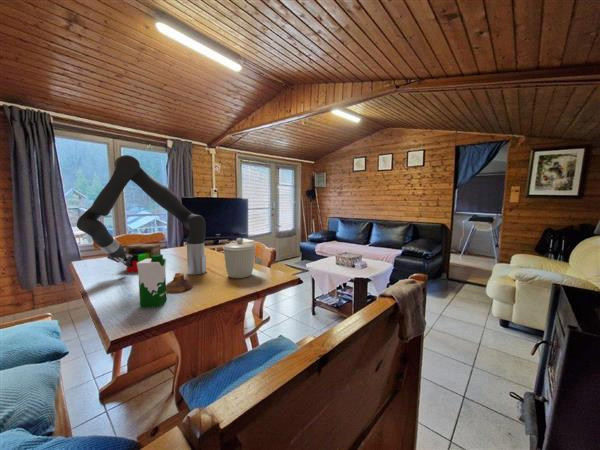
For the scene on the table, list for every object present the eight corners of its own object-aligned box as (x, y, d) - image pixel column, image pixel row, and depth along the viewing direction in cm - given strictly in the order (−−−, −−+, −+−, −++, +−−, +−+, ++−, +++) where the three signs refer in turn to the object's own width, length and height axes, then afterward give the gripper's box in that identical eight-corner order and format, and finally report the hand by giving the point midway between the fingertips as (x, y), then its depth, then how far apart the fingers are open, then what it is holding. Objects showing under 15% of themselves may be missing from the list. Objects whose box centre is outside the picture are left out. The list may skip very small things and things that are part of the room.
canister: (245, 282, 133) (245, 241, 130) (215, 278, 138) (215, 239, 136) (262, 273, 150) (262, 236, 147) (234, 270, 155) (234, 235, 153)
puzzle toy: (138, 267, 158) (137, 251, 157) (154, 267, 158) (153, 251, 157) (127, 272, 148) (126, 255, 147) (144, 272, 148) (143, 255, 147)
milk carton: (160, 308, 101) (158, 257, 99) (136, 308, 100) (133, 258, 98) (169, 299, 110) (167, 253, 108) (147, 300, 109) (145, 253, 107)
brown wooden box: (161, 266, 160) (160, 244, 158) (154, 270, 152) (153, 246, 151) (135, 266, 160) (133, 243, 158) (126, 270, 152) (125, 246, 151)
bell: (186, 293, 118) (186, 277, 117) (159, 293, 117) (159, 277, 116) (196, 284, 129) (195, 270, 128) (171, 284, 129) (171, 270, 128)
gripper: (127, 240, 131) (143, 259, 144) (101, 240, 131) (119, 258, 144) (121, 253, 126) (138, 271, 139) (93, 253, 126) (113, 270, 139)
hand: (128, 264), depth 142 cm, fingers closed
